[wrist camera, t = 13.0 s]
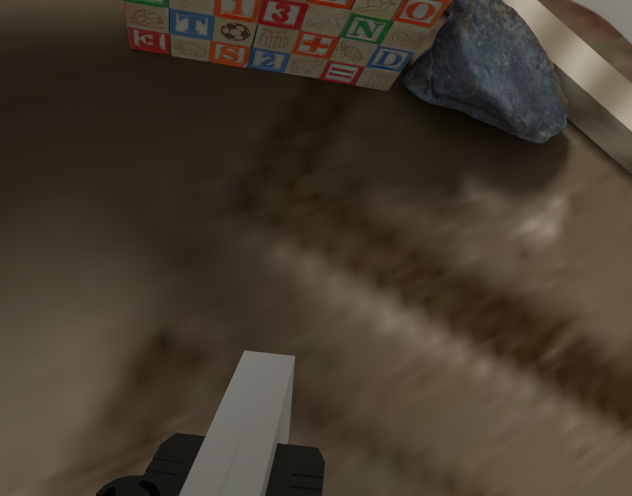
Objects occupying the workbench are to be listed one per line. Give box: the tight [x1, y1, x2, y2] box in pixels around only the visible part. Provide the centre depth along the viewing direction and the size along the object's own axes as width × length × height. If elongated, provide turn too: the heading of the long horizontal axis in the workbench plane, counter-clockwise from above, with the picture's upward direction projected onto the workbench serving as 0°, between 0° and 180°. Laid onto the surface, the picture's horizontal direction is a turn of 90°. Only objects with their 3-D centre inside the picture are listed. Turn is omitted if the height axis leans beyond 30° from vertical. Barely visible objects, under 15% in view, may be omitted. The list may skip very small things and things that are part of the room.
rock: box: [402, 0, 569, 144], centre depth 49 cm, size 16×8×10 cm
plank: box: [445, 0, 632, 175], centre depth 51 cm, size 28×4×4 cm, turn 51°
